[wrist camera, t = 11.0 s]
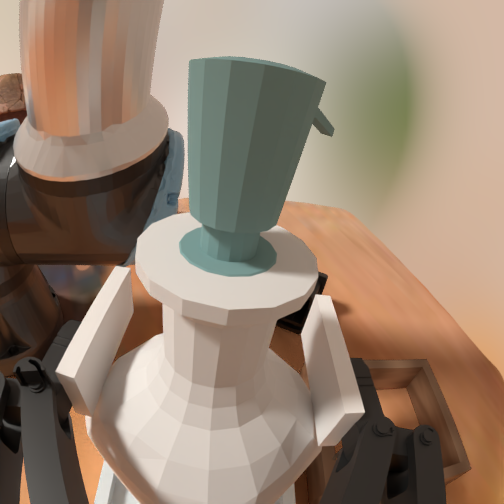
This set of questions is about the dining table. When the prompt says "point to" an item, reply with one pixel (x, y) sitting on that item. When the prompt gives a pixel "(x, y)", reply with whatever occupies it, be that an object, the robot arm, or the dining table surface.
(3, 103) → the pottery vessel
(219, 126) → the soap bottle
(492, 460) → the dining table surface
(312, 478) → the walnut holder
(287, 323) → the end cap
